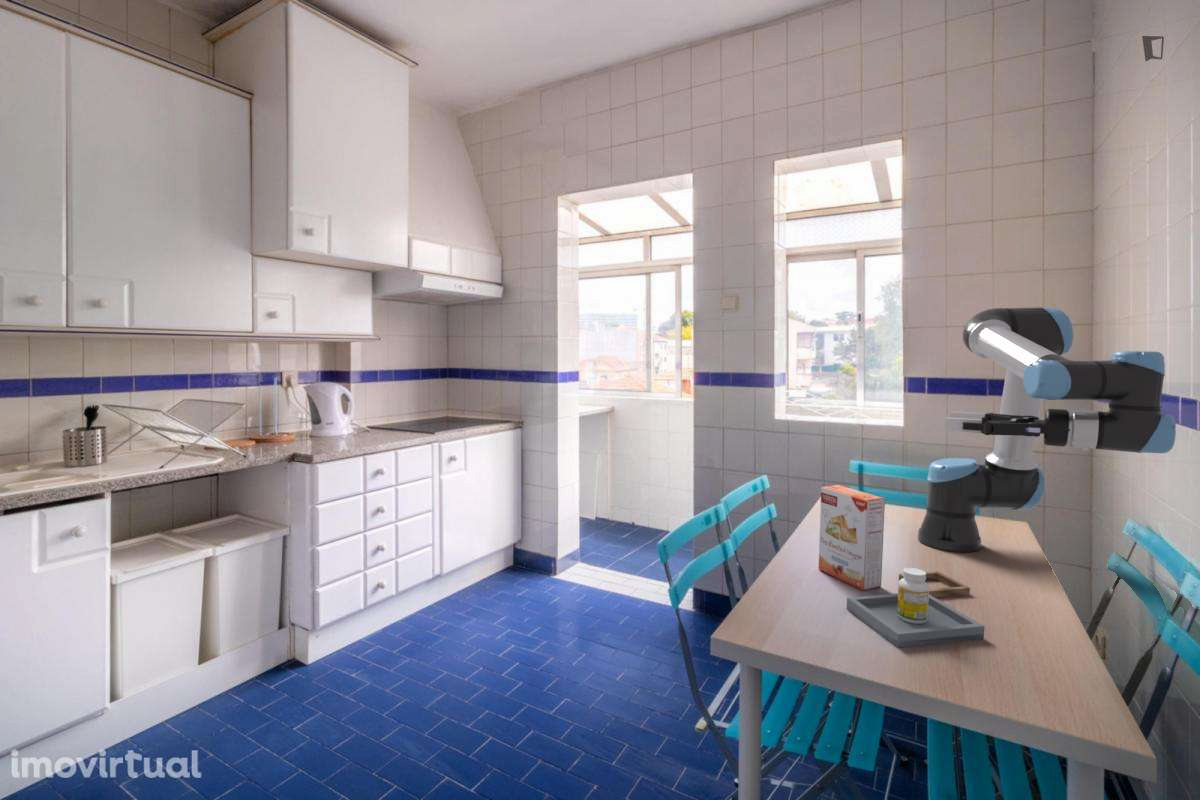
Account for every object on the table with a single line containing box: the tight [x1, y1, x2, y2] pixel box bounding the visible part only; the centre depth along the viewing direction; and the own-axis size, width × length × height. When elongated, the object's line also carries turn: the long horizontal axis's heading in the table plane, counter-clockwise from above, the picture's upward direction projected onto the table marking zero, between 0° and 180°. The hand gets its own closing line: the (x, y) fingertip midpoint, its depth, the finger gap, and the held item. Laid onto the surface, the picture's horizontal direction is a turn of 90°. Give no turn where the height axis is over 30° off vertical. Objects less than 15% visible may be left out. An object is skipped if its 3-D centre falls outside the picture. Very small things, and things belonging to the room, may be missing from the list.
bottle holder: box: [898, 570, 971, 598], centre depth 136 cm, size 10×10×2 cm
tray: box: [846, 593, 986, 648], centre depth 119 cm, size 18×16×2 cm
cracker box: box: [818, 484, 886, 591], centre depth 140 cm, size 14×6×21 cm, turn 23°
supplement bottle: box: [897, 567, 930, 624], centre depth 118 cm, size 5×5×10 cm
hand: (947, 420), depth 133 cm, fingers open, 13 cm apart
